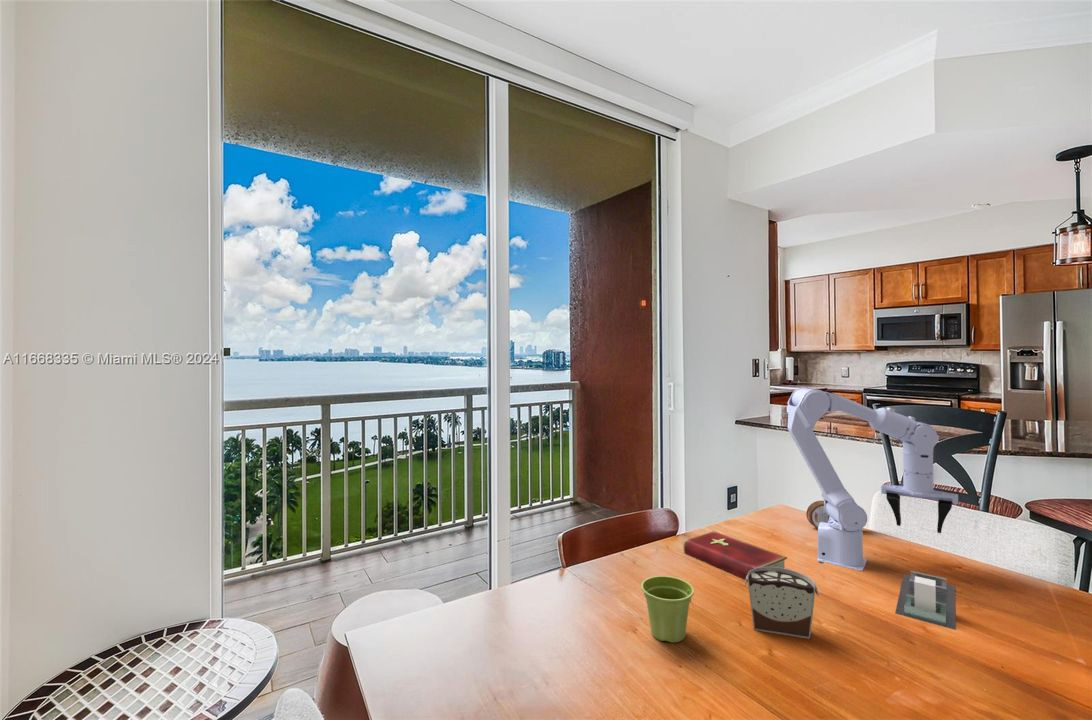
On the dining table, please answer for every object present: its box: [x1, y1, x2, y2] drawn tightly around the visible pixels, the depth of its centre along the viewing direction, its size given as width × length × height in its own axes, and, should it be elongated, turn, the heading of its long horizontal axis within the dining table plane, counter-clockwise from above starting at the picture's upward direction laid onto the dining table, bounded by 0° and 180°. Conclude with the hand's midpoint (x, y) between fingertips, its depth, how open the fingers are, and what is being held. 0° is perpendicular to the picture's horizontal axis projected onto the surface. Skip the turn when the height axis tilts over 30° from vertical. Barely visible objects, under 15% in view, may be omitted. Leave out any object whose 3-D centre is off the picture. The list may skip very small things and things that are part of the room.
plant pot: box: [640, 575, 695, 644], centre depth 88 cm, size 9×9×9 cm
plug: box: [914, 576, 936, 613], centre depth 94 cm, size 3×4×6 cm
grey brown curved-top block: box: [744, 567, 820, 639], centre depth 90 cm, size 12×6×10 cm, turn 71°
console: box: [894, 570, 957, 631], centre depth 99 cm, size 9×22×2 cm, turn 140°
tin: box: [805, 500, 830, 530], centre depth 140 cm, size 15×3×8 cm, turn 82°
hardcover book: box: [683, 530, 788, 581], centre depth 119 cm, size 12×21×4 cm, turn 32°
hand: (918, 528), depth 114 cm, fingers open, 7 cm apart
